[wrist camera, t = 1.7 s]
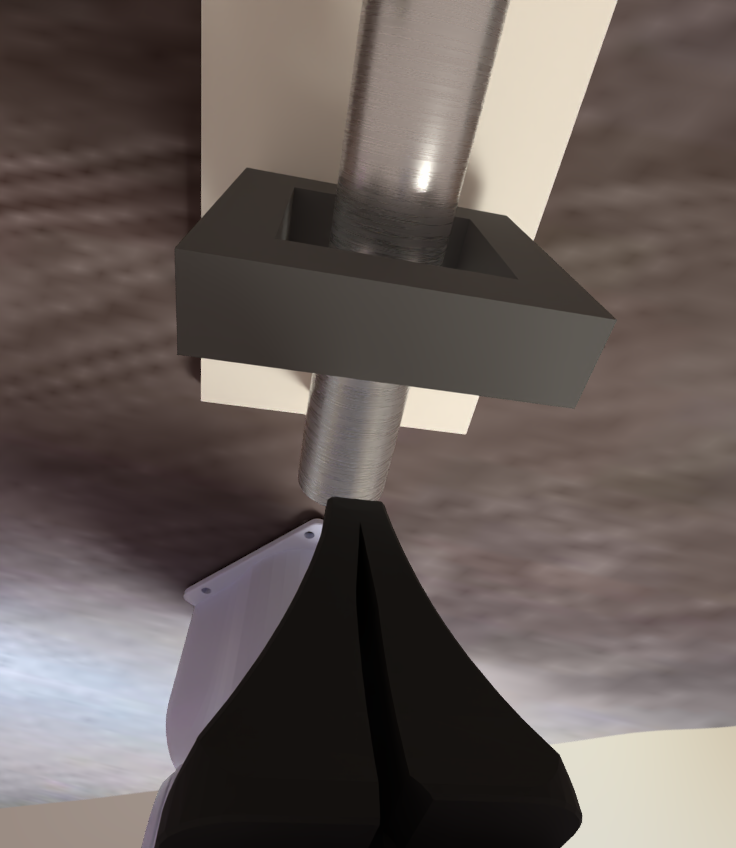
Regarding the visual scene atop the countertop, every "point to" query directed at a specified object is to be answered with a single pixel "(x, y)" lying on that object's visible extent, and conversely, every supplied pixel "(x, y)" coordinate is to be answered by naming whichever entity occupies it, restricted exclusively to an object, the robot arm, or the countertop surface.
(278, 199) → the collar
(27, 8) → the countertop surface
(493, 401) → the countertop surface
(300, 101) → the base board
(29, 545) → the countertop surface
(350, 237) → the pipe
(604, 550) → the countertop surface
